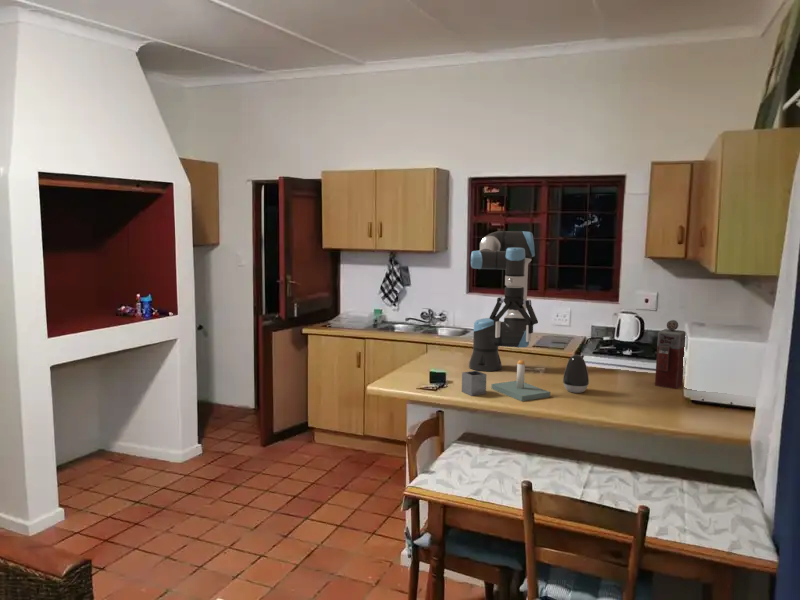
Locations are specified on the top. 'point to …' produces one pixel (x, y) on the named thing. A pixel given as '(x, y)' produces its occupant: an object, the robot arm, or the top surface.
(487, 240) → the robot arm
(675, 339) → the toy vending machine
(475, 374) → the grey square sleeve
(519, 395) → the keeper
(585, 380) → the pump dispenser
